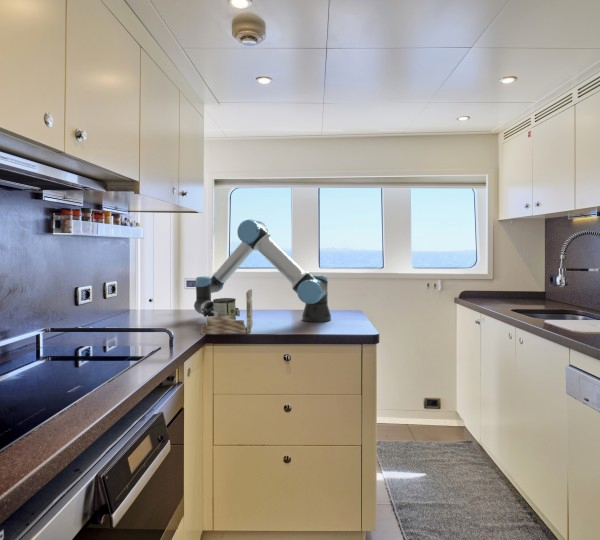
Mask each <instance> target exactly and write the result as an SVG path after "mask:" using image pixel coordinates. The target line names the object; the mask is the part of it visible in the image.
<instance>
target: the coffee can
mask: <svg viewBox="0 0 600 540" xmlns="http://www.w3.org/2000/svg"><path fill="white" fill-rule="evenodd" d="M212 301H213V305H214V311H215V312H218V316H235V320H237V318H236V317H237V316H236V310H235V307H236V298H234V297H222V298H221V297H220V298H214V299H212Z"/></svg>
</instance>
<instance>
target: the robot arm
mask: <svg viewBox="0 0 600 540" xmlns="http://www.w3.org/2000/svg"><path fill="white" fill-rule="evenodd" d="M237 237H238V239H239V241H241V243H240V244H239V245H238V246H237V247H236V248H235V250H234V251H233V252H232V253H231V254H230V256H228V258H227V259H226V260H225V261H224V262H223V263H222V264H221V266H220V267H219V268H218V269H217V270H216V272H215V273H214V274H213V275H212V276H211V277H210V276H197V277H196V279H195V280H196V281H195V295H196V298H195V302H194V304H193V307H194V310H195V311H196V312H197V313H199V314H201V315H203V317H205V318H207V317H208V316H218V312H215V311H214V305H213V300H212V293H218V292H220V291H221V290H222V289H223V288H224V285H225V284H226V282H227V281H229V279H230V278H231V277H232V275H233V274H234V273H235V272H236V271H237V270H238V269H239V268H240V266H241V265H242V264H243V263H244V261H246V260H247V258H249V256H250V255H251V253H252V252H254V251H256V252H257V251H258V252H259V253H260V254H261V255H262V256H263V257H264V258H265V259H266V260H267V261H268V262H269V263H270V264H271V265H272V266H273V267H274V268H275V269H276V270H277V271H278V272H280V274H281V275H282V276H283V277H285V278H286V280H288V281H289V283H290V284H291V288H292V290H293V291H294V293H296V294H297V297H298V300H300V301H301V302H302V303H304V304H305V305H304V308H303V312H302V316H301V319H302V321H304V322H311V323H322V322H330V321H331V320H332V314H331V311H330V309H329V305H328V298H329V296H328V282H329V281H328V277H327V276H326V275H313V274H312V273H310V272H309V271H304V270H303V269H302V268H301V267H300V266H299V265H298V263H296V262H295V261H294V259H292V258H291V257H290V256H289V255H288V254H287V253H286V252H284V250H282V248H280V246H279V245H278V244H277V243H275V241H274V240H273V239H272V238H271V234H270V232H269V231H268V227H267V226H266V224H265V223H264V222H262V221H259V220H255V219H246V220H243V221H241V222H240V224H238V226H237ZM235 310H236V317H241V310H240V309H239V307H236V306H235Z"/></svg>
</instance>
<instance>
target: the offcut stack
mask: <svg viewBox="0 0 600 540" xmlns="http://www.w3.org/2000/svg"><path fill="white" fill-rule="evenodd" d="M244 321H245V320H243V319H241V320H239V319H238V320H237V319H236V320H235V316H207V317H206V325H205V324H204V325H203V324H202V325H200V327H201V328H200V331H216V330H245V329H246V325H245V322H244Z"/></svg>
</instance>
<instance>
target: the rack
mask: <svg viewBox="0 0 600 540" xmlns="http://www.w3.org/2000/svg"><path fill="white" fill-rule="evenodd" d="M245 295H246V296H245V297H246V328H245V330H216V331H201V330H199V334H200V333H240V334H251V333H252V329H253V326H254V325H253V323H254V322H253V288H252V289H250V288H249V289H248V290H247V291H246V294H245Z"/></svg>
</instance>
